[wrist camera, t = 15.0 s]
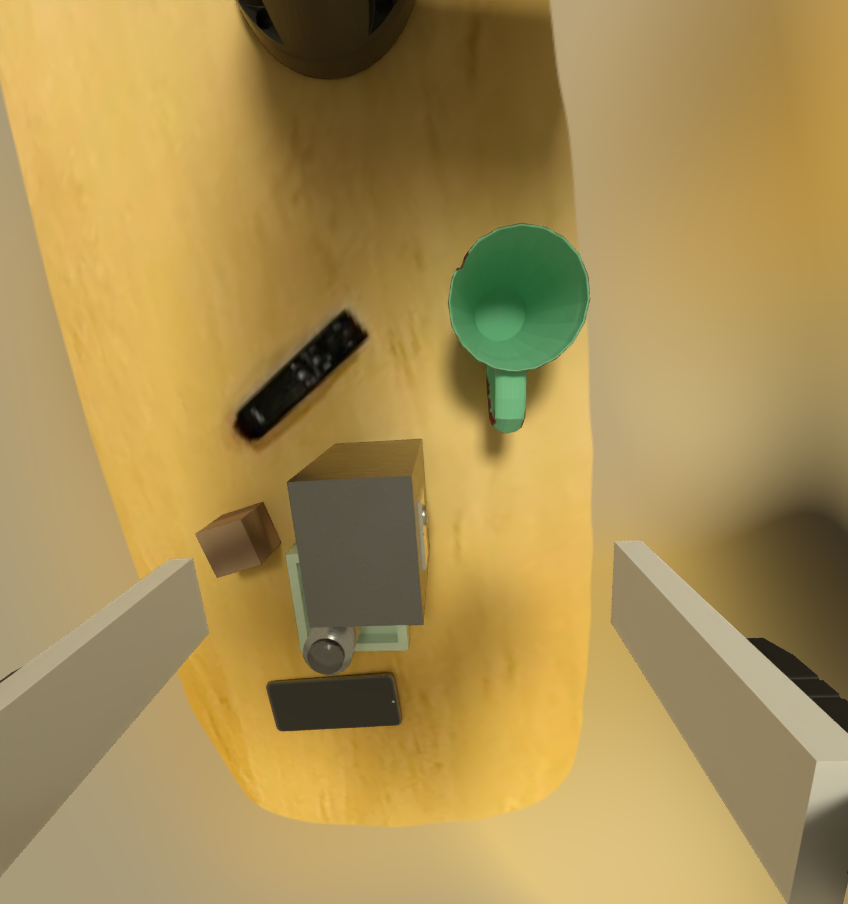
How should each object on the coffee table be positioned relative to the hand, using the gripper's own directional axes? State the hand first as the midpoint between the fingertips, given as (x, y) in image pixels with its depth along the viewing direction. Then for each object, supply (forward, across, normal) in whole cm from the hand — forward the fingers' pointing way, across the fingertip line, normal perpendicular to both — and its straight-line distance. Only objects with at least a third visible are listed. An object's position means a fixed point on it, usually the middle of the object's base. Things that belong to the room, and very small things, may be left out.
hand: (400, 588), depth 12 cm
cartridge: (+28, -10, -18) cm, 34 cm away
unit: (+29, -6, -7) cm, 30 cm away
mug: (+29, +7, +8) cm, 31 cm away
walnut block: (+29, -20, -10) cm, 37 cm away
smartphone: (+29, -14, -33) cm, 46 cm away
